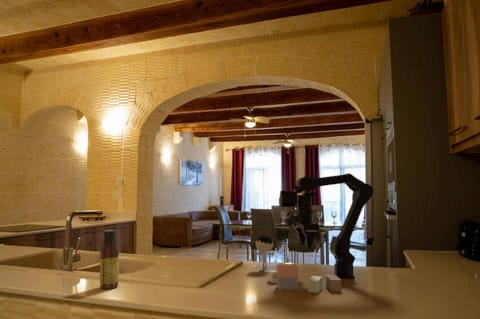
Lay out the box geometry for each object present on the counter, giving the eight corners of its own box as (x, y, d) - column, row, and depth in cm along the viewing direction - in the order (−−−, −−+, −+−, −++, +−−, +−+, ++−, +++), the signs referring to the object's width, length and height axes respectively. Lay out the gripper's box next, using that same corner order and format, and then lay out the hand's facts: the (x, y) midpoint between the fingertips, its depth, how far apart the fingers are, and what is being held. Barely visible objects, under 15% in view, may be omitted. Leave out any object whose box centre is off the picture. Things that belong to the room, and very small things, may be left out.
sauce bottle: (122, 286, 124) (124, 229, 126) (110, 290, 118) (112, 231, 120) (107, 284, 126) (109, 229, 128) (94, 288, 121) (97, 230, 123)
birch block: (285, 279, 135) (285, 269, 135) (289, 282, 132) (289, 271, 132) (268, 281, 133) (268, 270, 134) (272, 283, 130) (271, 272, 130)
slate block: (295, 286, 125) (295, 275, 125) (298, 289, 121) (298, 277, 122) (276, 287, 124) (276, 275, 124) (278, 289, 120) (278, 278, 121)
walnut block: (326, 286, 126) (325, 275, 126) (335, 286, 126) (335, 275, 126) (331, 291, 119) (330, 279, 119) (341, 291, 119) (341, 279, 119)
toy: (274, 267, 156) (274, 234, 157) (274, 271, 149) (274, 235, 151) (255, 267, 157) (255, 233, 158) (254, 270, 150) (254, 235, 152)
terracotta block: (296, 275, 125) (295, 264, 125) (298, 277, 121) (298, 266, 122) (276, 275, 124) (276, 264, 125) (278, 278, 121) (278, 266, 121)
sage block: (312, 287, 125) (312, 275, 125) (322, 288, 123) (322, 276, 123) (307, 292, 118) (307, 280, 119) (318, 293, 117) (317, 281, 117)
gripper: (280, 206, 150) (280, 243, 148) (291, 208, 131) (291, 250, 130) (305, 206, 151) (306, 243, 149) (319, 208, 132) (320, 250, 131)
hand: (305, 246), depth 140 cm, fingers open, 9 cm apart
